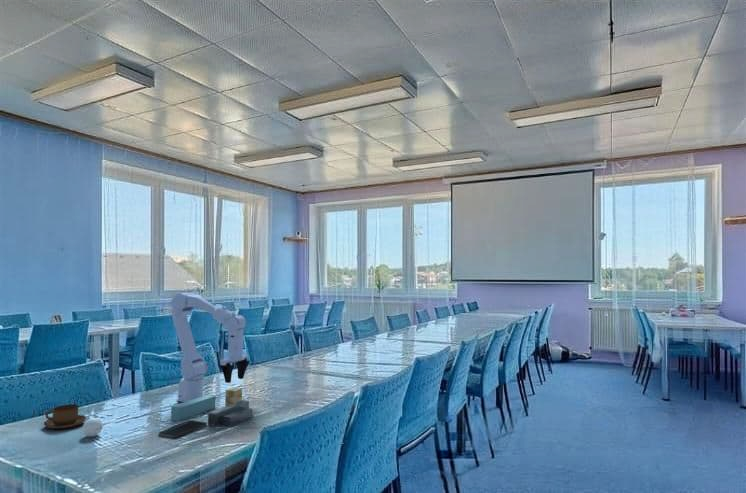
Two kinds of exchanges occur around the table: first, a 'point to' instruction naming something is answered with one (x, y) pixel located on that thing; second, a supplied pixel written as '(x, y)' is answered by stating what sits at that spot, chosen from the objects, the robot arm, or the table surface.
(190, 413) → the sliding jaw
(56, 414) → the cup and saucer
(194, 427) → the phone
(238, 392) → the oak block
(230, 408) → the vise
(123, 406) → the table surface
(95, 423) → the white rounded piece
